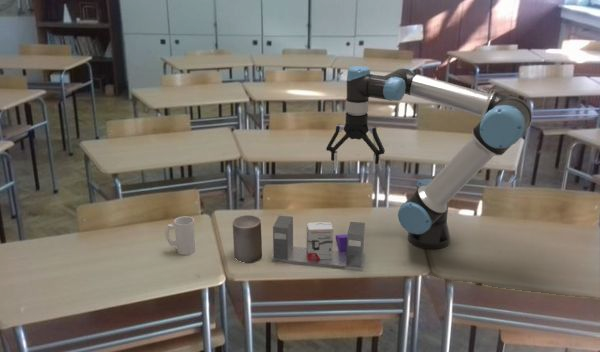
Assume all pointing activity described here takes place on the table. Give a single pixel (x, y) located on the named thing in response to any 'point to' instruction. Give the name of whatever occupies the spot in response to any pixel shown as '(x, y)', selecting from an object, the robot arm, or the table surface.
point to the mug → (183, 235)
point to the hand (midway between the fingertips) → (354, 170)
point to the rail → (298, 255)
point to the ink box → (319, 240)
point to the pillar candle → (247, 239)
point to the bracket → (341, 242)
